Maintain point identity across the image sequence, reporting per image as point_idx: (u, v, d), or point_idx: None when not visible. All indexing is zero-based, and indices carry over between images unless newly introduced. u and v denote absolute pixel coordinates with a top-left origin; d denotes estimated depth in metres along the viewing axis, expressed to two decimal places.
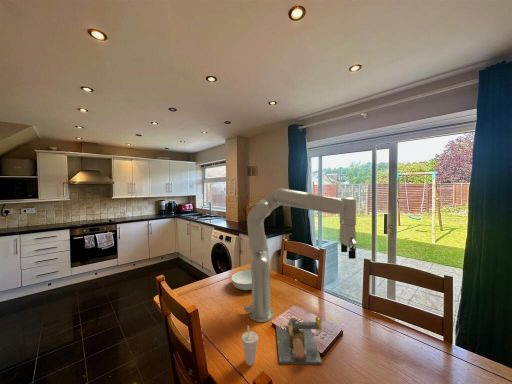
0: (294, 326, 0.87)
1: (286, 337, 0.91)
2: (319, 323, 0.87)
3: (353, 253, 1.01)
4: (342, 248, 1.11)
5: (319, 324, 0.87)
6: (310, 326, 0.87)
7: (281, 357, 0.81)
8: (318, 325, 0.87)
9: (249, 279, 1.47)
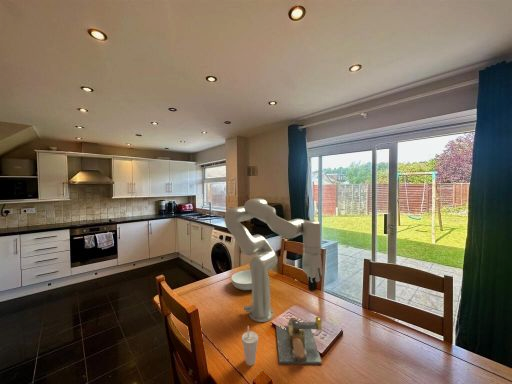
0: (294, 326, 0.87)
1: (286, 337, 0.91)
2: (319, 323, 0.87)
3: (314, 285, 0.91)
4: None
5: (319, 324, 0.87)
6: (310, 326, 0.87)
7: (281, 357, 0.81)
8: (318, 325, 0.87)
9: (249, 279, 1.47)
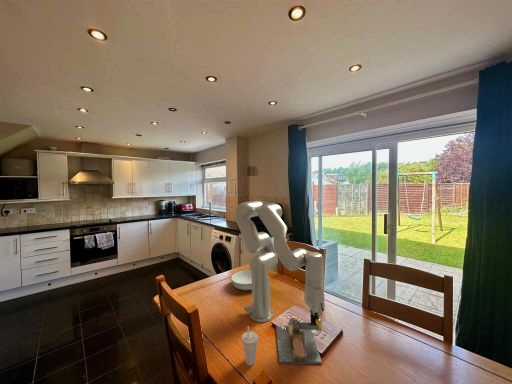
0: (294, 326, 0.87)
1: (286, 337, 0.91)
2: (319, 324, 0.86)
3: None
4: None
5: (319, 325, 0.86)
6: (310, 327, 0.87)
7: (281, 357, 0.81)
8: (318, 326, 0.87)
9: (249, 279, 1.47)
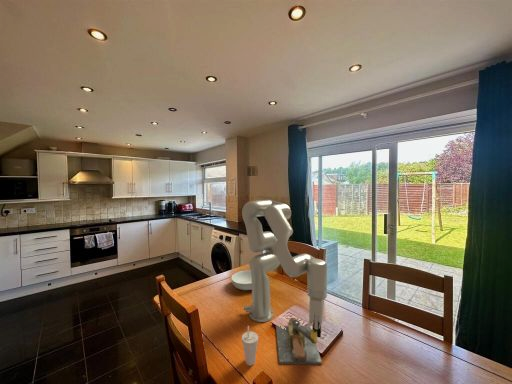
0: (292, 324, 0.88)
1: (286, 337, 0.91)
2: (312, 335, 0.80)
3: (317, 331, 0.82)
4: None
5: (312, 337, 0.80)
6: (305, 333, 0.83)
7: (281, 357, 0.81)
8: (311, 337, 0.80)
9: (249, 279, 1.47)
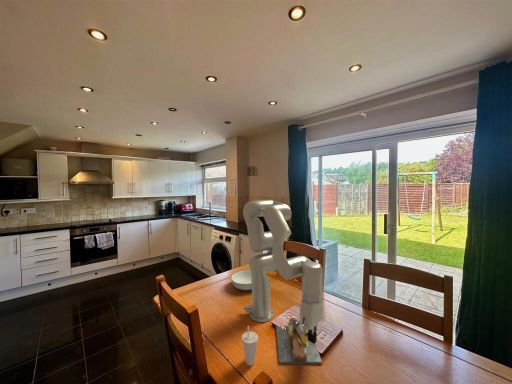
0: None
1: (286, 337, 0.91)
2: (301, 338, 0.79)
3: (310, 336, 0.80)
4: None
5: (301, 339, 0.79)
6: (299, 335, 0.83)
7: (281, 357, 0.81)
8: (301, 339, 0.79)
9: (249, 279, 1.47)
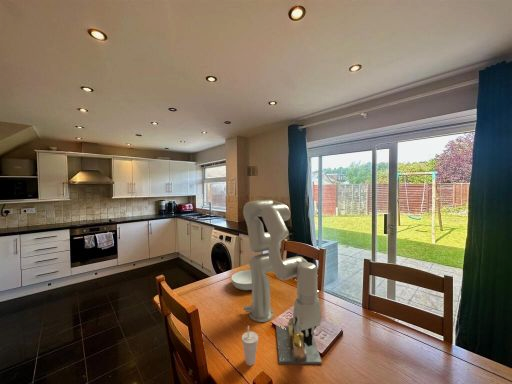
0: None
1: (286, 337, 0.91)
2: (294, 337, 0.79)
3: (305, 338, 0.79)
4: None
5: (294, 339, 0.79)
6: None
7: (281, 357, 0.81)
8: None
9: (249, 279, 1.47)
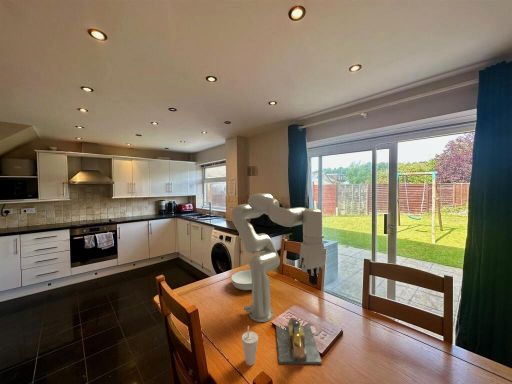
0: None
1: (286, 337, 0.91)
2: (294, 337, 0.79)
3: (310, 277, 0.85)
4: None
5: (294, 339, 0.79)
6: None
7: (281, 357, 0.81)
8: None
9: (249, 279, 1.47)
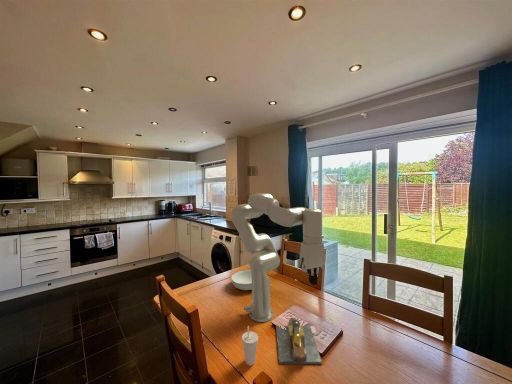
0: None
1: (286, 337, 0.91)
2: (294, 337, 0.79)
3: (310, 277, 0.85)
4: None
5: (294, 339, 0.79)
6: None
7: (281, 357, 0.81)
8: None
9: (249, 279, 1.47)
